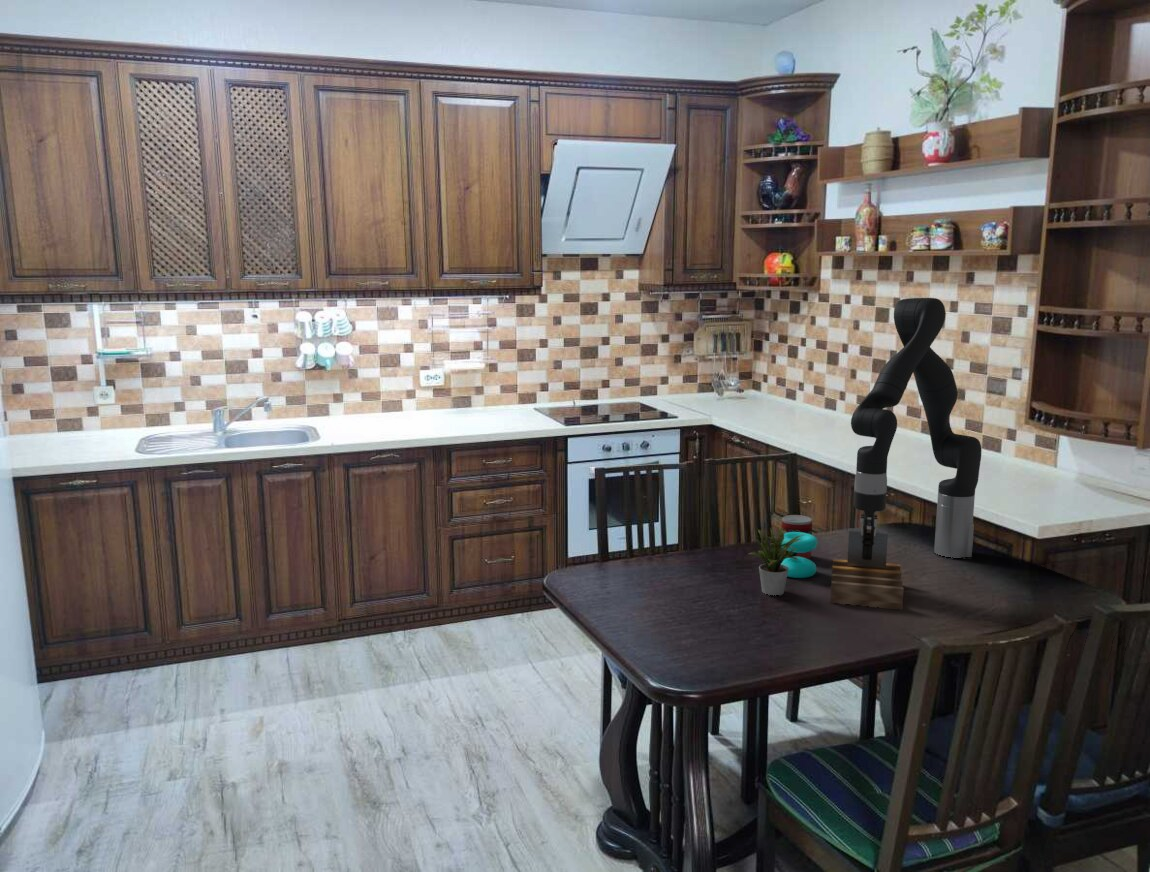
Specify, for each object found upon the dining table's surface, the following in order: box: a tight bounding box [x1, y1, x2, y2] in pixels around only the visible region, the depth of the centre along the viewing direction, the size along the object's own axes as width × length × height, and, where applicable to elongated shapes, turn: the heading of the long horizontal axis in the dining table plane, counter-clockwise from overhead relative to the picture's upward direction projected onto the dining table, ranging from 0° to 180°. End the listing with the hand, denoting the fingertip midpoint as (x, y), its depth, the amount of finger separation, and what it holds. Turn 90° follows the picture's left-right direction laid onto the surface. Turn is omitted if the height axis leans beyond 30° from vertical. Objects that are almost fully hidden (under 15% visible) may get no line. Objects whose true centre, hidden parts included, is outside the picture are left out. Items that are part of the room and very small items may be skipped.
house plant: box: [748, 527, 804, 597], centre depth 220 cm, size 14×14×16 cm
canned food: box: [780, 514, 813, 560], centre depth 247 cm, size 8×8×11 cm
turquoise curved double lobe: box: [781, 532, 819, 579], centre depth 235 cm, size 10×10×10 cm
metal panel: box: [847, 527, 889, 570], centre depth 224 cm, size 9×2×10 cm, turn 73°
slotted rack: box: [830, 558, 905, 611], centre depth 220 cm, size 16×17×5 cm
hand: (866, 557), depth 224 cm, fingers closed on metal panel, 2 cm apart
